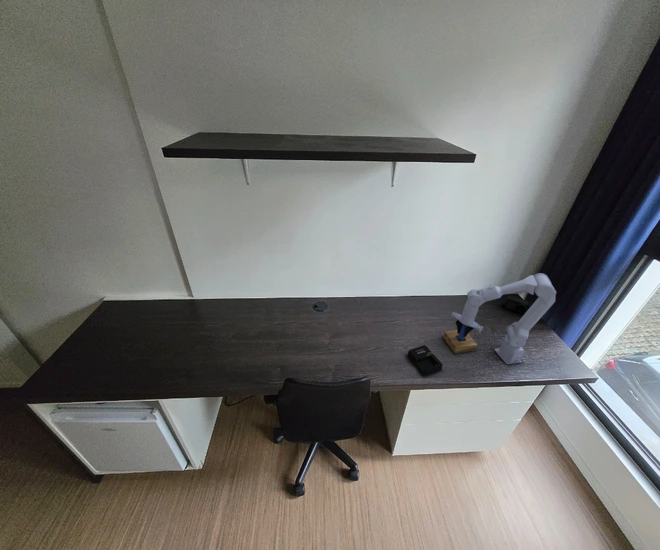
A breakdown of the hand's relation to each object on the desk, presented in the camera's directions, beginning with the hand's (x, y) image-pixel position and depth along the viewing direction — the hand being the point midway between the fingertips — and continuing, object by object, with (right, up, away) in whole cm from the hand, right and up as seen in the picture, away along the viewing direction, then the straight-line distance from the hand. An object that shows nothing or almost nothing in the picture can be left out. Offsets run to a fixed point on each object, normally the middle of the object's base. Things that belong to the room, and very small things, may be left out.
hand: (462, 334), depth 142 cm
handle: (0, -2, +1) cm, 3 cm away
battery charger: (-21, -12, -7) cm, 25 cm away
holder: (0, -5, +3) cm, 6 cm away
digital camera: (+43, +9, +27) cm, 51 cm away
